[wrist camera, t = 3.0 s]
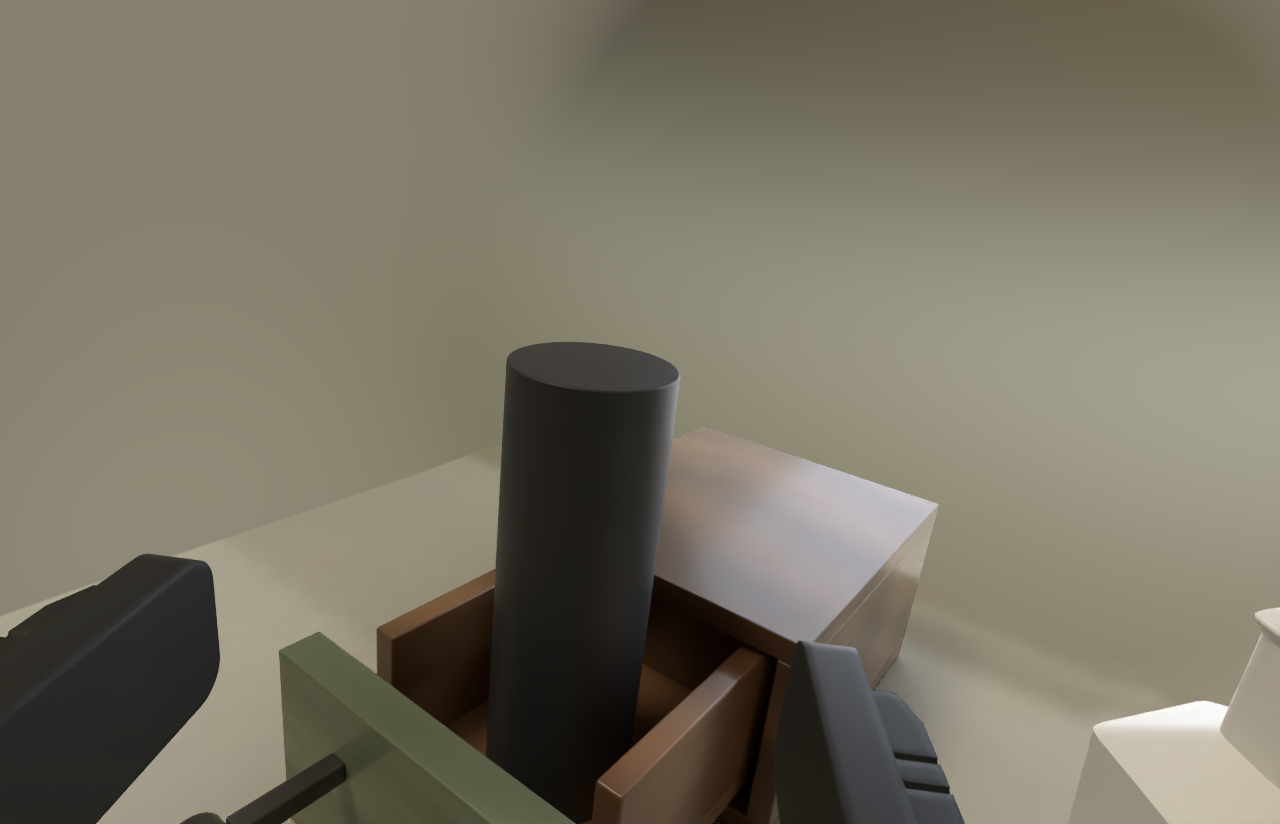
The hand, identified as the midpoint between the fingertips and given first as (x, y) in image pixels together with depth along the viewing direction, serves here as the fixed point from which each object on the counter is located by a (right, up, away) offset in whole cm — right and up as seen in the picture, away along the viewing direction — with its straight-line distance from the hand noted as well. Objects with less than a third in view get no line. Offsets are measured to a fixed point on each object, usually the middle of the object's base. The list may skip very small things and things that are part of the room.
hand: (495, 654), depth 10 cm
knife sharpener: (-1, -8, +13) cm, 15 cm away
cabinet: (+5, -8, +22) cm, 23 cm away
